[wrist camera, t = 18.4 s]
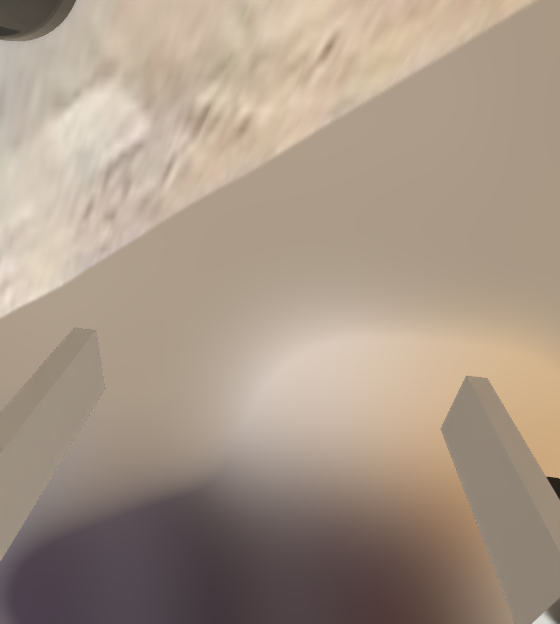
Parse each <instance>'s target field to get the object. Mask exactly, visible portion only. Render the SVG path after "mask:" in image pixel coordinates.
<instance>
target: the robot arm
mask: <svg viewBox="0 0 560 624" xmlns="http://www.w3.org/2000/svg"><path fill="white" fill-rule="evenodd" d="M75 1H76V0H0V40H7V41H26V40H32V39H36V38H39V37H41V36H44V35H46V34H48V33H49V32H51V31H52V30H54V29H55V28H56V27H57V26H59V25H60V24H61V23H62V22H63V20H64V19H65V18H66V17H67V15H68V14H69V12H70V11H71V9H72V7H73V5H74V3H75ZM104 390H105V383H104V376H103V370H102V363H101V358H100V351H99V345H98V338H97V332H96V330H90V329H81V328H73V330H72V331H71V332H70V333H69V334H68V335H67V336H66V338H65V339H64V340H63V341H62V342H61V343H60V344H59V346H58V347H57V348H56V349H55V350H54V351H53V353H52V354H51V355H50V356H49V357H48V358H47V360H46V361H45V362H44V363H43V364H42V365H41V366H40V367H39V369H38V370H37V371H36V372H35V373H34V374H33V376H32V377H31V378H30V379H29V380H28V381H27V382H26V384H25V385H24V386H23V387H22V388H21V389H20V391H19V392H18V393H17V394H16V395H15V396H14V397H13V399H12V400H11V401H10V402H9V403H8V404H7V405H6V406H5V408H4V409H3V410H2V411H1V412H0V561H1V559H2V558H3V556H4V555H5V553H6V551H7V550H8V548H9V546H10V544H11V543H12V541H13V540H14V538H15V536H16V534H17V533H18V532H19V530H20V528H21V527H22V525H23V523H24V522H25V520H26V518H27V517H28V515H29V514H30V512H31V510H32V509H33V507H34V505H35V503H36V502H37V500H38V498H39V497H40V495H41V493H42V492H43V491H44V489H45V487H46V485H47V484H48V482H49V481H50V479H51V477H52V476H53V474H54V472H55V471H56V469H57V468H58V466H59V464H60V463H61V461H62V459H63V458H64V456H65V454H66V453H67V451H68V449H69V448H70V446H71V445H72V443H73V441H74V440H75V438H76V436H77V434H78V433H79V431H80V430H81V428H82V427H83V425H84V423H85V422H86V420H87V418H88V417H89V415H90V413H91V412H92V410H93V408H94V407H95V405H96V403H97V402H98V400H99V399H100V397H101V395H102V394H103V392H104ZM441 431H442V434H443V436H444V439H445V442H446V444H447V447H448V449H449V452H450V455H451V457H452V459H453V462H454V465H455V468H456V470H457V473H458V475H459V478H460V481H461V483H462V486H463V489H464V491H465V494H466V496H467V499H468V502H469V504H470V507H471V510H472V512H473V515H474V517H475V520H476V523H477V525H478V528H479V530H480V533H481V536H482V538H483V541H484V543H485V546H486V549H487V551H488V554H489V557H490V559H491V562H492V564H493V567H494V569H495V572H496V575H497V577H498V580H499V583H500V585H501V588H502V590H503V593H504V596H505V599H506V601H507V604H508V606H509V609H510V612H511V614H512V617H513V620H514V622H515V624H560V479H559V478H553V477H546V476H545V474H544V473H543V471H542V469H541V468H540V466H539V464H538V463H537V461H536V459H535V458H534V456H533V454H532V452H531V451H530V449H529V447H528V446H527V444H526V442H525V441H524V439H523V437H522V436H521V434H520V432H519V431H518V429H517V427H516V426H515V424H514V422H513V421H512V419H511V417H510V415H509V414H508V412H507V410H506V409H505V407H504V405H503V404H502V402H501V401H500V399H499V397H498V395H497V394H496V392H495V390H494V389H493V387H492V385H491V383H490V382H489V380H488V379H487V378H481V377H473V376H466V377H465V379H464V381H463V384H462V386H461V388H460V390H459V392H458V394H457V396H456V398H455V400H454V402H453V405H452V406H451V408H450V411H449V412H448V415H447V417H446V419H445V421H444V423H443V425H442V427H441Z"/></svg>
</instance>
